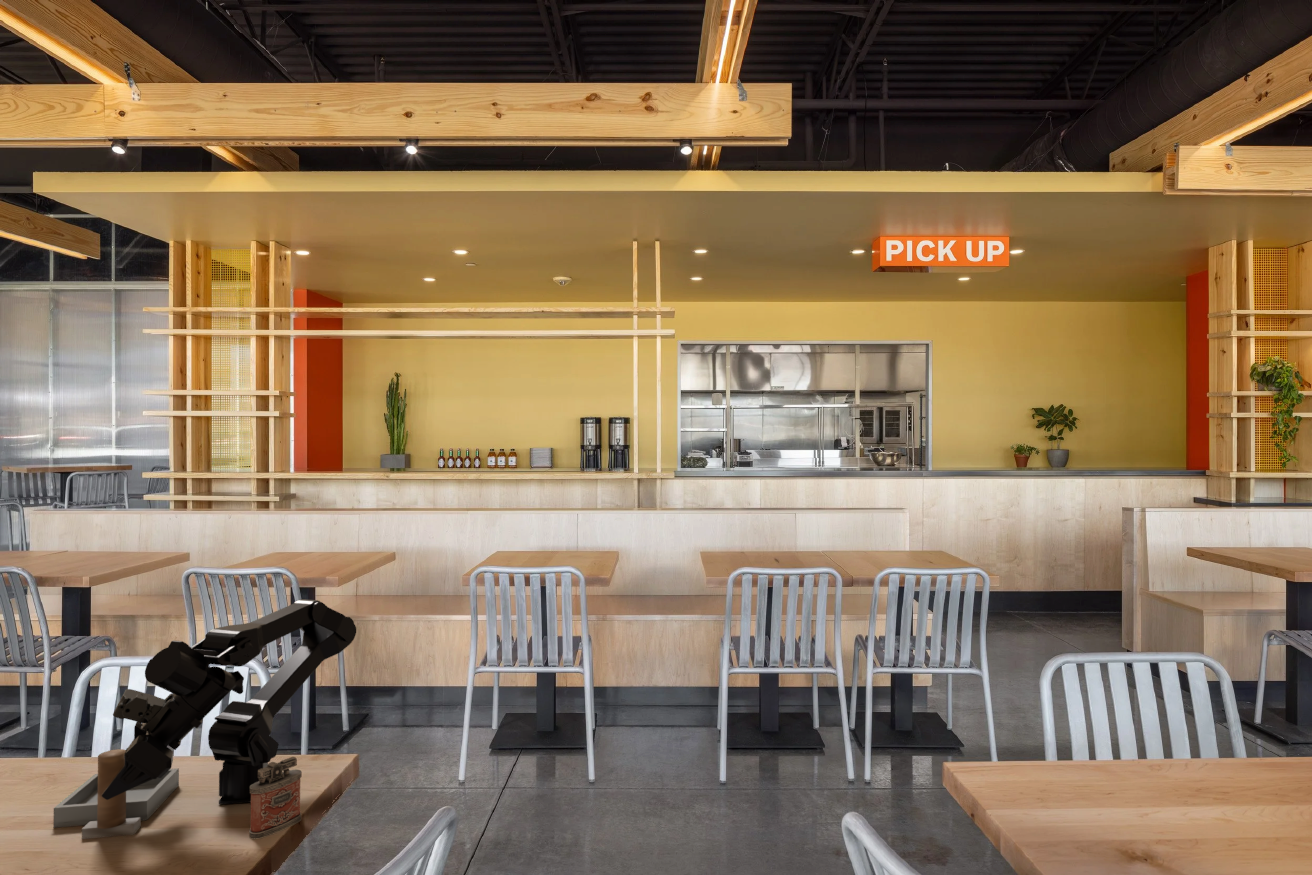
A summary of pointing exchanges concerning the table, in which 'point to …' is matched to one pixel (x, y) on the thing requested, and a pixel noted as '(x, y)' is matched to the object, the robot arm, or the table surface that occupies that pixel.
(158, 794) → the tray
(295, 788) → the lighter
